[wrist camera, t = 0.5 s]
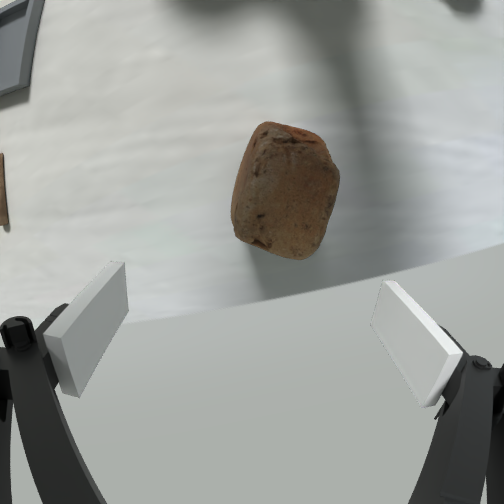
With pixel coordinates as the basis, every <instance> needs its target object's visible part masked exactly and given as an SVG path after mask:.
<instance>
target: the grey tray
mask: <svg viewBox="0 0 504 504" xmlns="http://www.w3.org/2000/svg"><path fill="white" fill-rule="evenodd" d="M44 1H45V0H16V1H14V2H12V3H10V4H8V5H6V6H4V7H2V8H0V96H1V95H4V94H7V93H10V92H13V91H16V90H19V89H22V88H25V87H28V86H30V77H31V68H32V61H33V54H34V48H35V42H36V36H37V31H38V26H39V21H40V17H41V13H42V9H43V4H44Z"/></svg>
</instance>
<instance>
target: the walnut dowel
mask: <svg viewBox="0 0 504 504" xmlns="http://www.w3.org/2000/svg"><path fill="white" fill-rule="evenodd" d="M6 224H8V216H7V208H6V199H5V188H4V173H3V153H1V154H0V226H2V225H6Z"/></svg>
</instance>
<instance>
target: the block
mask: <svg viewBox="0 0 504 504" xmlns="http://www.w3.org/2000/svg"><path fill="white" fill-rule="evenodd" d="M339 181H340V175H339V170H338V169H337V167H336V165H335V164H334V163H333V162H332V159H331V156H330V154H329V151H328V149H327V148H326V144H325V142H324V141H323V140H322V139H321V138H320V137H319V136H318V135H316V134H315V133H312V132H310V131H307V130H304V129H300V128H296V127H292V126H288V125H282V124H279V123H275V122H267V121H266V122H264V123H262V124H260V125H259V126H258V127H257V128H256V130H255V131H254V133H253V135H252V137H251V139H250V141H249V143H248V146H247V148H246V151H245V153H244V156H243V159H242V162H241V165H240V168H239V171H238V175H237V179H236V182H235V187H234V191H233V196H232V203H231V220H232V224H233V226H234V232H235V236H236V237H237V238H238V239H240V240H241V241H243V242H246V243H248V244H251V245H254V246H256V247H259V248H261V249H263V250H266V251H268V252H270V253H273V254H276V255H279V256H282V257H285V258H290V259H296V260H302V259H306V258H307V257H309V256H311V255H312V254H313V253H314V252H315V251H316V250H317V249H318V247H319V246H320V243H321V241H322V239H323V237H324V235H325V232H326V228H327V224H328V221H329V218H330V216H331V213H332V210H333V207H334V203H335V200H336V196H337V191H338V187H339Z"/></svg>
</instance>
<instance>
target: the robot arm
mask: <svg viewBox="0 0 504 504" xmlns="http://www.w3.org/2000/svg"><path fill="white" fill-rule="evenodd" d="M128 311H129V308H128V298H127V287H126V275H125V262H114V261H111V262H110V263H109V264H108V265H107V266H106V267H105V268H104V269H103V270H102V271H101V272H100V273H99V274H98V275H97V276H96V277H95V278H94V279H93V280H92V281H91V282H90V283H89V284H88V285H87V286H86V287H85V288H84V289H83V290H82V291H81V292H80V293H79V294H78V296H77V297H76V298H75V299H74V300H73V301H72V302H71V303H70V304H66V303H64V304H63V305H61V306H59V307H57V308H55V309H54V311H53V312H52V313H51V314H50V316H48V317H47V318H46V319H45V321H43V322H42V323H41V324H40V326H39V327H38V328H37V329H36V330H35V331H34V328H33V324H32V322H31V320H30V319H29V318H27V317H24V316H16V317H12V318H9V319H7V320H6V321H4V322H3V323H2V324H1V326H0V333H1V336H2V339H3V342H4V344H5V347H6V348H4V347H0V504H12V495H11V479H10V440H11V421H12V408H13V403H14V408H15V413H16V418H17V422H18V427H19V431H20V435H21V439H22V443H23V447H24V450H25V454H26V457H27V460H28V463H29V467H30V470H31V473H32V476H33V479H34V482H35V484H36V487H37V490H38V492H39V495H40V498H41V500H42V502H43V504H107V503H106V501H105V499H104V498H103V496H102V494H101V492H100V491H99V489H98V487H97V485H96V484H95V482H94V480H93V478H92V476H91V474H90V472H89V470H88V468H87V466H86V464H85V462H84V460H83V458H82V456H81V454H80V452H79V450H78V447H77V445H76V443H75V441H74V438H73V436H72V434H71V431H70V429H69V426H68V424H67V421H66V419H65V416H64V414H63V411H62V409H61V406H60V403H59V400H58V398H57V395H56V392H55V390H54V389H55V387H56V386H57V384H58V382H59V384H60V387H61V390H62V392H63V393H64V394H68V395H71V396H75V397H78V398H80V396H81V394H82V392H83V391H84V389H85V387H86V385H87V383H88V381H89V379H90V377H91V376H92V374H93V372H94V370H95V368H96V367H97V365H98V363H99V361H100V359H101V358H102V356H103V354H104V352H105V350H106V349H107V347H108V345H109V343H110V342H111V340H112V338H113V337H114V335H115V333H116V331H117V330H118V328H119V326H120V325H121V323H122V321H123V320H124V318H125V316H126V315H127V313H128ZM370 325H371V327H372V328H373V330H374V332H375V333H376V335H377V336H378V338H379V339H380V341H381V343H382V344H383V346H384V347H385V349H386V350H387V352H388V354H389V355H390V357H391V358H392V360H393V362H394V363H395V365H396V367H397V368H398V370H399V371H400V373H401V375H402V376H403V378H404V380H405V381H406V383H407V385H408V386H409V388H410V390H411V391H412V393H413V395H414V396H415V398H416V400H417V401H418V403H419V405H420V406H421V408H425V407H429V406H434V405H436V403H437V402H438V400H439V398H440V396H441V395H442V396H443V397H444V398H445V402H444V404H443V405H442V407H441V408H440V410H439V412H438V413H437V415H436V416H435V418H434V419H435V420H436V419H437V417H439V418H438V422H437V426H436V429H435V432H434V436H433V439H432V442H431V445H430V449H429V451H428V454H427V457H426V460H425V463H424V466H423V468H422V471H421V474H420V477H419V479H418V481H417V484H416V486H415V489H414V491H413V493H412V496H411V498H410V500H409V503H408V504H480V501H481V496H482V491H483V487H484V482H485V476H486V484H487V504H504V364H503V366H502V368H492V365H491V364H490V362H489V361H487V360H486V359H485V358H482V357H480V356H476V355H475V356H469V354H468V353H467V352H466V351H465V350H464V349H463V348H462V347H461V345H460V344H459V343H458V342H456V340H455V339H454V338H453V337H451V335H450V334H449V332H448V331H447V330H446V329H444V328H443V327H441V326H439V325H438V324H437V323H436V322H435V321H434V320H433V319H432V318H431V317H430V316H429V315H428V314H427V313H426V312H425V311H424V310H423V309H422V308H421V307H420V306H419V305H418V304H417V303H416V301H415V300H413V298H412V297H411V296H410V295H409V294H407V292H406V291H405V290H404V289H403V288H402V287H401V286H400V285H399V284H398V283H397V282H396V281H393V280H382V284H381V288H380V292H379V296H378V300H377V303H376V307H375V310H374V314H373V317H372V320H371V324H370Z"/></svg>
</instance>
